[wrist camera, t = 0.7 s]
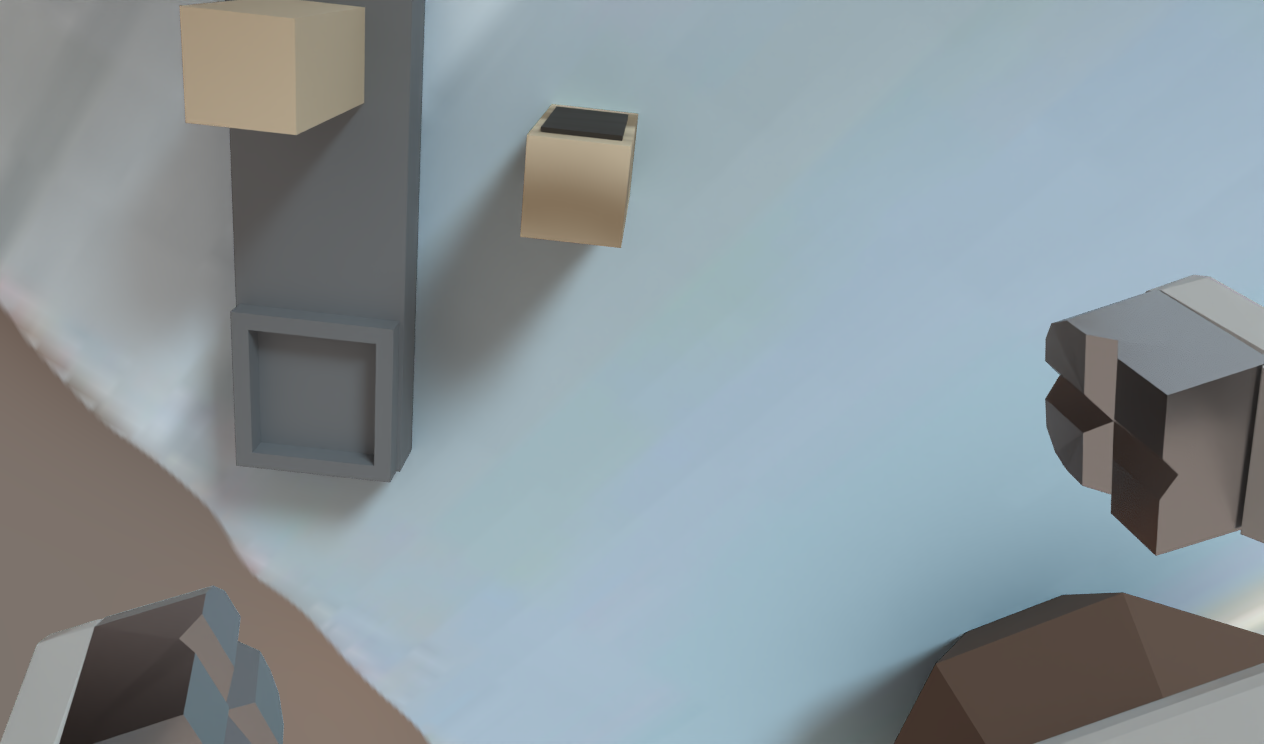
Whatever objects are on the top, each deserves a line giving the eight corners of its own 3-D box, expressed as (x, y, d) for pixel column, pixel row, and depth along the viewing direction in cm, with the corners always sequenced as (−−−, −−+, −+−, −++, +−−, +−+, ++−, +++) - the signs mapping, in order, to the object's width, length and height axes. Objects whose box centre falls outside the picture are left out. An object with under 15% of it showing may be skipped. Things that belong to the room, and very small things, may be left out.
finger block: (552, 99, 48) (527, 129, 40) (638, 109, 48) (631, 141, 40) (545, 189, 50) (520, 236, 42) (629, 199, 50) (620, 247, 42)
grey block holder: (245, -35, 47) (119, -32, 36) (425, -14, 47) (352, -6, 36) (259, 433, 55) (160, 547, 44) (411, 450, 55) (349, 568, 44)
